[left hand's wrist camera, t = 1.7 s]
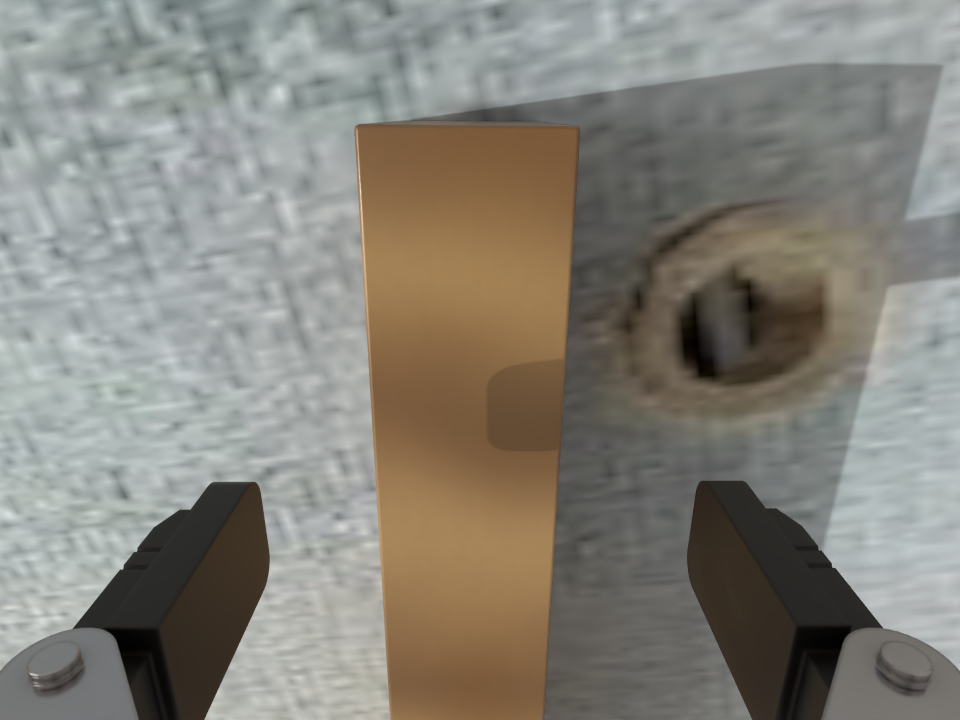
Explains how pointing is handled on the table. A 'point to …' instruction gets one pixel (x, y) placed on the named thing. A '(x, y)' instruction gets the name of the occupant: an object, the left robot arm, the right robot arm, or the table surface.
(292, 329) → the table surface
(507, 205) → the post
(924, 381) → the table surface
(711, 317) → the table surface
